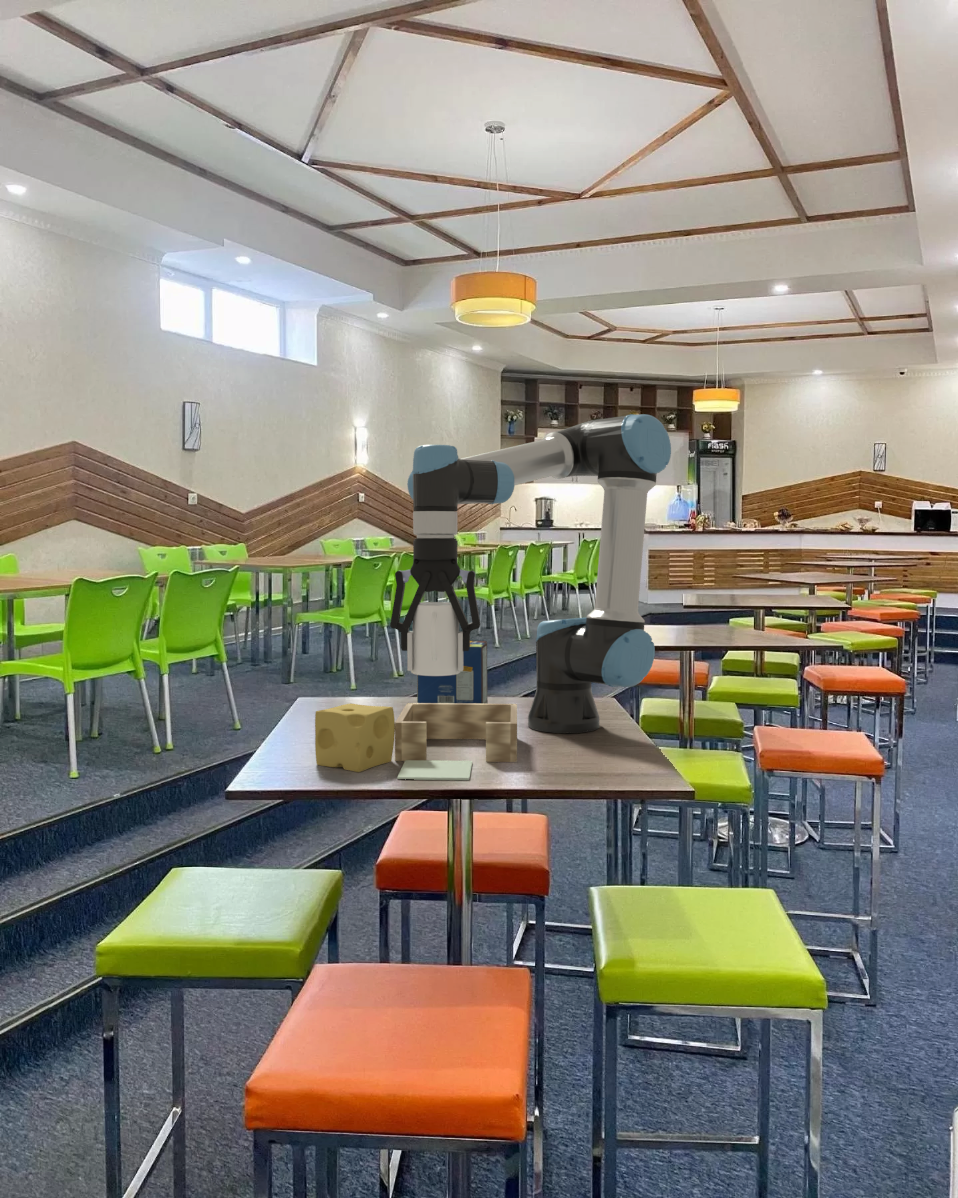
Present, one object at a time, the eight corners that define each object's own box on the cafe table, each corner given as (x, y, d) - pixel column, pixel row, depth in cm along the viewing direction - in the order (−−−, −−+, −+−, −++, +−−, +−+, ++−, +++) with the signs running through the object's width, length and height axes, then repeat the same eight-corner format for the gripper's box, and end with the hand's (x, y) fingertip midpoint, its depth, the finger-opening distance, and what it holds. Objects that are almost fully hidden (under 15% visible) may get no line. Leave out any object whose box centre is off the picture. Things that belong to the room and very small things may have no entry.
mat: (472, 763, 171) (472, 760, 171) (469, 780, 159) (469, 777, 159) (405, 762, 171) (405, 760, 171) (397, 779, 159) (397, 777, 159)
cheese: (359, 773, 164) (358, 715, 163) (311, 765, 169) (311, 709, 169) (395, 761, 172) (395, 706, 172) (349, 754, 178) (349, 701, 177)
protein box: (424, 703, 231) (424, 639, 230) (488, 705, 229) (488, 640, 228) (416, 711, 221) (415, 644, 220) (482, 713, 219) (482, 645, 217)
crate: (516, 738, 191) (516, 703, 191) (517, 762, 171) (517, 723, 171) (407, 737, 192) (407, 703, 192) (395, 761, 172) (394, 722, 172)
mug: (454, 679, 157) (454, 607, 157) (403, 678, 158) (403, 606, 158) (463, 669, 169) (463, 602, 168) (415, 668, 170) (415, 601, 169)
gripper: (496, 537, 166) (496, 667, 167) (377, 536, 166) (378, 666, 168) (496, 537, 158) (495, 673, 160) (371, 536, 159) (372, 672, 160)
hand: (435, 669), depth 164 cm, fingers closed on mug, 8 cm apart
